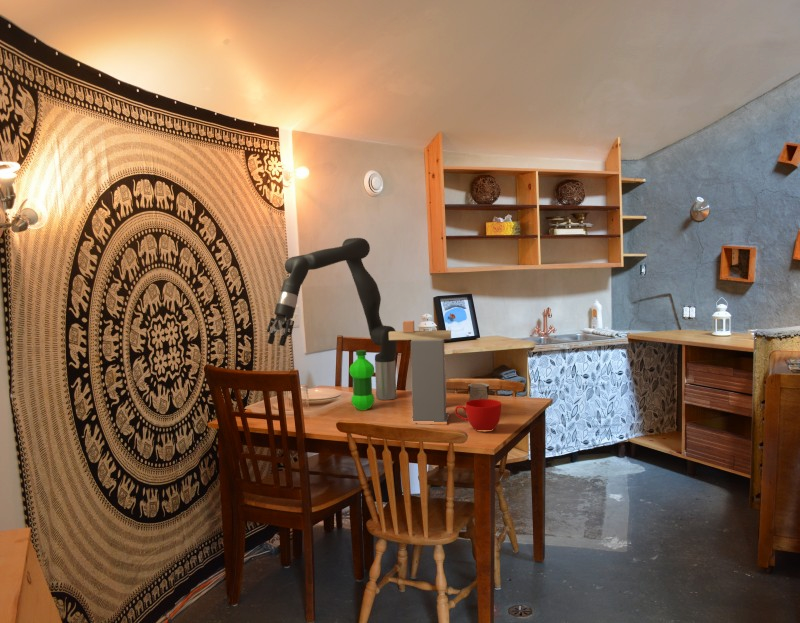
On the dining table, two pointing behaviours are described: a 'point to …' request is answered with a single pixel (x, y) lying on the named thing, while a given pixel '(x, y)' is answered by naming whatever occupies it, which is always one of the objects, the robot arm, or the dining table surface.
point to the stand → (428, 380)
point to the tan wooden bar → (419, 335)
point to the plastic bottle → (362, 382)
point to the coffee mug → (478, 383)
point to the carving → (478, 392)
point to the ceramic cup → (482, 413)
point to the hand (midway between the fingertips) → (275, 344)
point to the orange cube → (408, 326)
